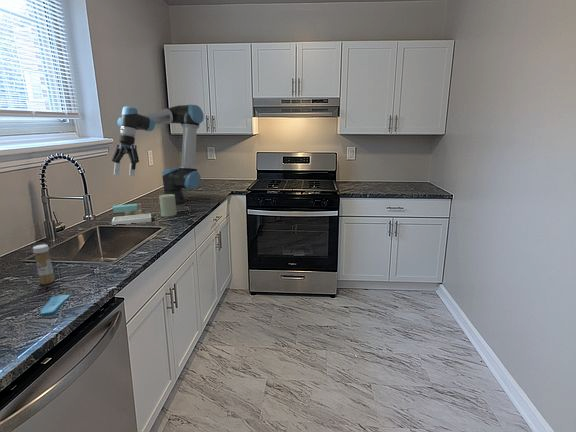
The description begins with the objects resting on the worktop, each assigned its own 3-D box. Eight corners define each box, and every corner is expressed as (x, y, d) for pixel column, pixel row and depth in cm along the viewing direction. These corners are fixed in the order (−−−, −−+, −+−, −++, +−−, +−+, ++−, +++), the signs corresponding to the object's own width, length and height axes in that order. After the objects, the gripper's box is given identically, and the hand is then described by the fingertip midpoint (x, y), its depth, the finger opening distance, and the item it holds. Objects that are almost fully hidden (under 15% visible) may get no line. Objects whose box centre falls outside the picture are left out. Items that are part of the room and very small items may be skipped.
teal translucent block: (142, 215, 221) (140, 203, 219) (142, 217, 217) (140, 204, 215) (126, 217, 218) (124, 204, 216) (125, 218, 214) (123, 206, 212)
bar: (137, 208, 219) (137, 203, 219) (137, 210, 215) (137, 205, 214) (114, 210, 215) (113, 205, 214) (113, 212, 211) (112, 207, 210)
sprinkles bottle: (37, 284, 130) (29, 248, 126) (45, 279, 134) (38, 244, 131) (50, 284, 130) (42, 248, 126) (57, 279, 134) (50, 243, 130)
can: (164, 217, 216) (162, 197, 213) (158, 214, 223) (156, 194, 219) (179, 214, 221) (177, 194, 218) (173, 211, 228) (171, 192, 225)
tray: (151, 217, 216) (150, 213, 215) (151, 221, 207) (150, 217, 206) (113, 221, 210) (113, 217, 209) (112, 226, 200) (111, 221, 200)
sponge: (31, 315, 108) (52, 311, 109) (51, 296, 120) (70, 292, 120) (33, 319, 109) (54, 315, 109) (53, 300, 120) (71, 296, 121)
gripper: (107, 135, 203) (103, 173, 204) (136, 133, 190) (132, 175, 191) (119, 138, 210) (116, 175, 210) (148, 137, 197) (144, 176, 197)
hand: (123, 175), depth 200 cm, fingers open, 13 cm apart
